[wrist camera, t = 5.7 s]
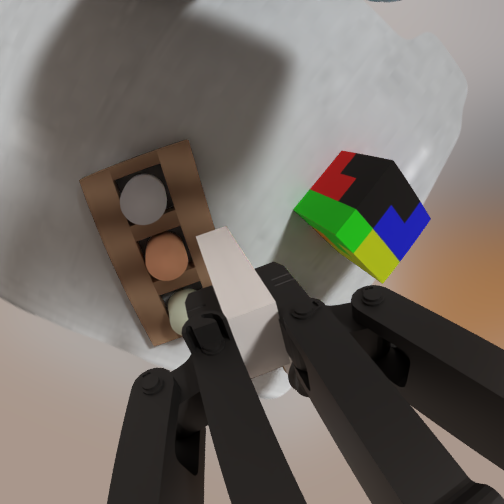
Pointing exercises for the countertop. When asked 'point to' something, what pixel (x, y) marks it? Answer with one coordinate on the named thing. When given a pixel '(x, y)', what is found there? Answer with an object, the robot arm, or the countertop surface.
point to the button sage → (178, 309)
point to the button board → (151, 231)
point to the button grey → (143, 199)
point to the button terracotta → (166, 256)
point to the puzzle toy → (365, 212)
